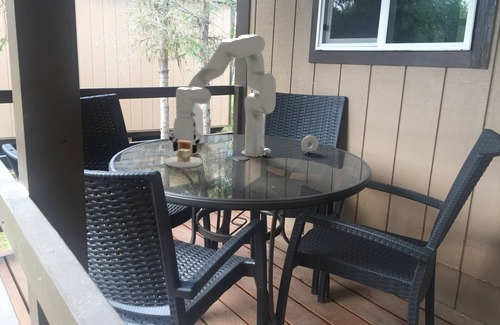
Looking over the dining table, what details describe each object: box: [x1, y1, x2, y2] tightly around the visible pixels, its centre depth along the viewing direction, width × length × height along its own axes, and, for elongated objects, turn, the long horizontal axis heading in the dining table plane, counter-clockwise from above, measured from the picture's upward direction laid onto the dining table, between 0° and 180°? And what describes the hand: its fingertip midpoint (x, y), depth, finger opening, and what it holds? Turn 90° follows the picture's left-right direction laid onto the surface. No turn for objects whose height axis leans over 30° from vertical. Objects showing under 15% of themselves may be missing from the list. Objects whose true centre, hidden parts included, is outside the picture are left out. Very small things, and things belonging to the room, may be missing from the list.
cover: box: [177, 140, 198, 157], centre depth 212 cm, size 7×7×7 cm
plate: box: [164, 156, 203, 169], centre depth 194 cm, size 17×17×1 cm
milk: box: [177, 103, 205, 145], centre depth 240 cm, size 12×12×26 cm
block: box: [176, 149, 191, 162], centre depth 194 cm, size 4×4×5 cm
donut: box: [300, 134, 319, 152], centre depth 225 cm, size 10×4×10 cm, turn 112°
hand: (185, 151), depth 194 cm, fingers open, 9 cm apart
